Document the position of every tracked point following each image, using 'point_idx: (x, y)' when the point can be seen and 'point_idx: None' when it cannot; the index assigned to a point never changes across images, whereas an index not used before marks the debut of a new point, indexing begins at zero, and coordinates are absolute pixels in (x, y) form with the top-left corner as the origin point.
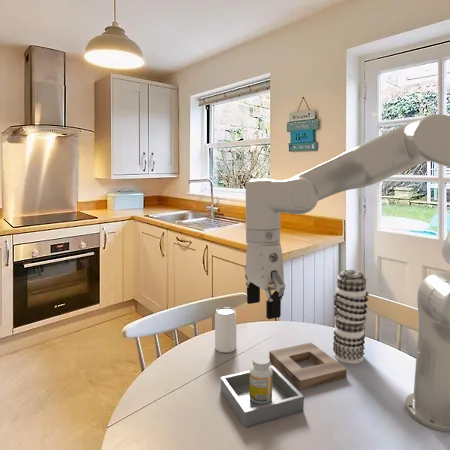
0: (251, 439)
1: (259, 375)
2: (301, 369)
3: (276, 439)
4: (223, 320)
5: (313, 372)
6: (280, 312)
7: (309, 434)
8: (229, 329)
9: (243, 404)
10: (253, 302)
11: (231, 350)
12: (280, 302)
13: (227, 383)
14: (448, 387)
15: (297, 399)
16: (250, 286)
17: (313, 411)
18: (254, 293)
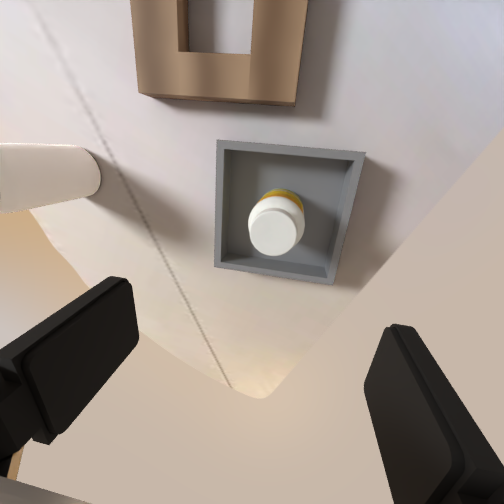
0: (356, 276)
1: (295, 244)
2: (252, 60)
3: (383, 245)
4: (22, 200)
5: (281, 33)
6: (424, 346)
7: (414, 187)
8: (50, 180)
9: (311, 276)
10: (133, 318)
11: (97, 169)
12: (480, 434)
13: (239, 266)
14: None
15: (360, 170)
16: (27, 433)
17: (371, 131)
18: (88, 359)
